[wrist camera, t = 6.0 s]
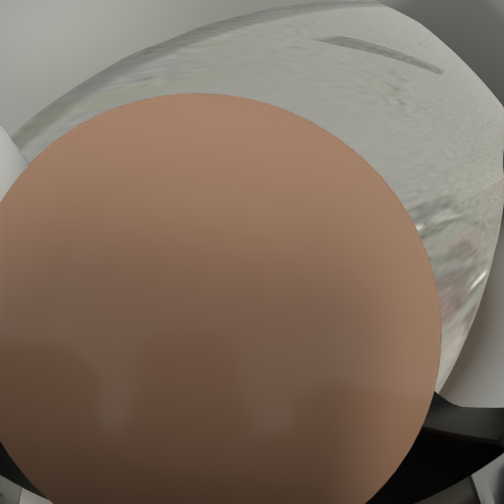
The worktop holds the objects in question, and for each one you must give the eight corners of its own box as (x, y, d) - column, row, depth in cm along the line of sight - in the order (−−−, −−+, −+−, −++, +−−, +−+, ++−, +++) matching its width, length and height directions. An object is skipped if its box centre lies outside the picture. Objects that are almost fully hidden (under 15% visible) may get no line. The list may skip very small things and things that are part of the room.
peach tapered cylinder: (176, 400, 13) (132, 584, 1) (126, 301, 14) (-54, 213, 2) (273, 352, 15) (475, 395, 3) (223, 256, 16) (300, 65, 4)
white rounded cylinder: (9, 253, 18) (-60, 214, 8) (15, 194, 19) (-39, 139, 9) (58, 243, 19) (-9, 192, 10) (62, 181, 20) (14, 113, 11)
